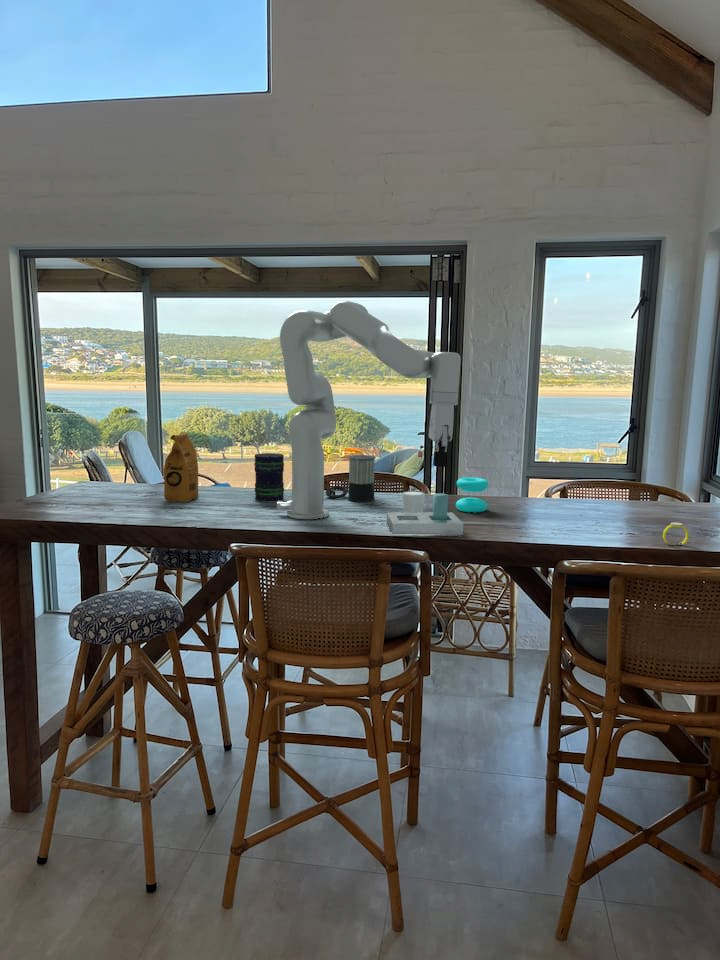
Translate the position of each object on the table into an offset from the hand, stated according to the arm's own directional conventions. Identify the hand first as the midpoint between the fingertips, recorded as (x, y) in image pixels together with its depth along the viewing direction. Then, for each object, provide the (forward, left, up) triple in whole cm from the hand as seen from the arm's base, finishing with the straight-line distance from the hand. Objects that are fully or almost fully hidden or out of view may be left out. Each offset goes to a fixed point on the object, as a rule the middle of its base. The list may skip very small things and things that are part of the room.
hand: (439, 465), depth 184 cm
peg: (+1, 0, -18) cm, 18 cm away
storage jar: (-49, +45, -18) cm, 69 cm away
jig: (-4, 0, -18) cm, 18 cm away
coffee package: (-78, +44, -18) cm, 91 cm away
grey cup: (-4, +19, -18) cm, 26 cm away
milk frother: (-22, +45, -18) cm, 53 cm away
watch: (+59, -17, -18) cm, 64 cm away
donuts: (+16, +27, -18) cm, 36 cm away
